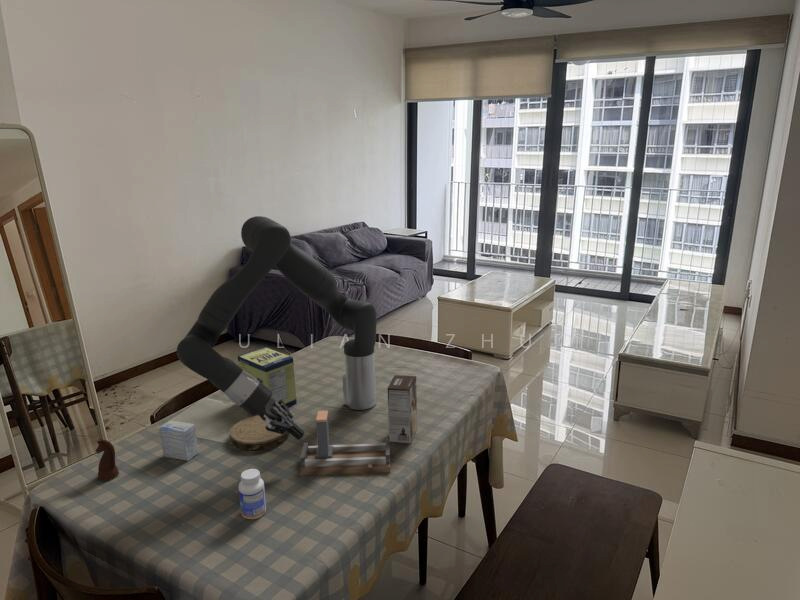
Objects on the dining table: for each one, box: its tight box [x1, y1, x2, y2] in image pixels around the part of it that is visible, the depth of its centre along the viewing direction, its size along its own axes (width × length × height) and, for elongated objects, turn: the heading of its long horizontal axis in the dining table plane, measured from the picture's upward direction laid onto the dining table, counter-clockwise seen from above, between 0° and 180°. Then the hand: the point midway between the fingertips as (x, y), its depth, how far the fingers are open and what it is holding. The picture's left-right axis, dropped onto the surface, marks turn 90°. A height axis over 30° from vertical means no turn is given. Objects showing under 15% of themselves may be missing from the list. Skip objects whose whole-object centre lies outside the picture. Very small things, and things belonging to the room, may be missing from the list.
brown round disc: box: [229, 415, 290, 453], centre depth 155 cm, size 16×16×3 cm
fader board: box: [299, 439, 391, 476], centre depth 141 cm, size 22×10×4 cm, turn 92°
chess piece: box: [95, 438, 120, 482], centre depth 136 cm, size 5×5×10 cm
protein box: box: [237, 346, 298, 408], centre depth 174 cm, size 10×16×16 cm
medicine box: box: [159, 420, 199, 462], centre depth 145 cm, size 8×4×9 cm, turn 71°
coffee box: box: [387, 374, 418, 444], centre depth 152 cm, size 9×6×16 cm
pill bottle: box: [238, 468, 267, 520], centre depth 121 cm, size 5×5×10 cm
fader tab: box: [315, 410, 333, 459], centre depth 139 cm, size 4×5×12 cm
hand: (301, 436), depth 139 cm, fingers closed
